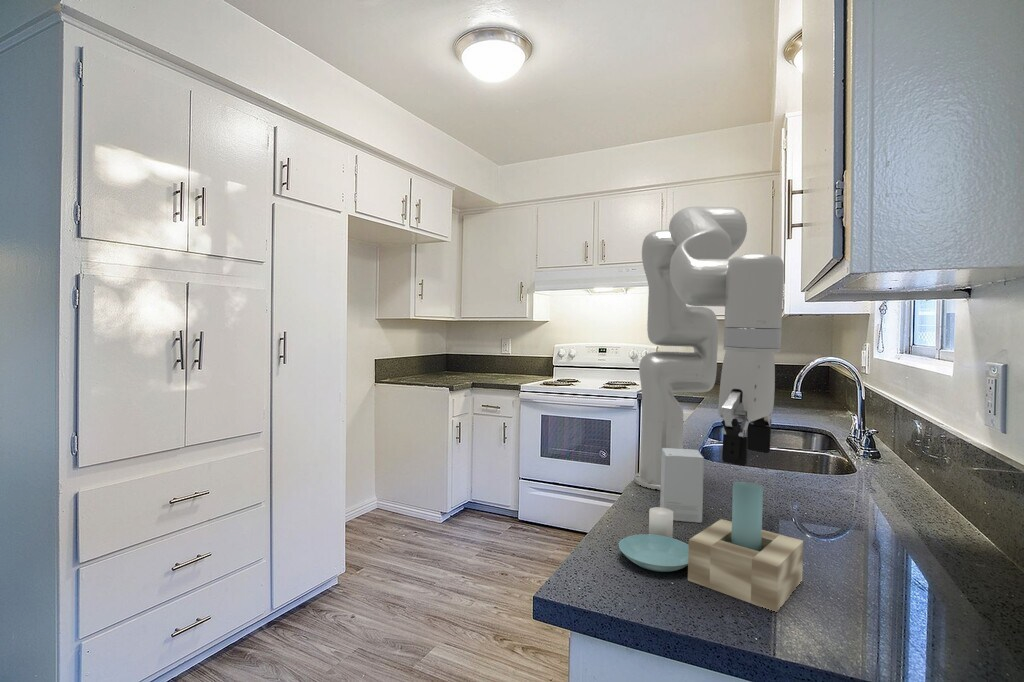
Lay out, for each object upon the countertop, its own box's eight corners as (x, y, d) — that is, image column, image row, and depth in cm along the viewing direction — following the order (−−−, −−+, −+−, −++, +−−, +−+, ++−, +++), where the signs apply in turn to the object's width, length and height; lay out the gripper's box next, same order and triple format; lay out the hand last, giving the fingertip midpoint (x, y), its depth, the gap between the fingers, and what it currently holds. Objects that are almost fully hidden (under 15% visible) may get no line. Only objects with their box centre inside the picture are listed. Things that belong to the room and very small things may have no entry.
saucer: (694, 552, 85) (694, 539, 85) (698, 585, 74) (698, 569, 74) (622, 543, 88) (622, 530, 88) (614, 573, 77) (615, 558, 77)
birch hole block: (720, 555, 84) (721, 518, 84) (802, 581, 75) (803, 540, 75) (687, 580, 75) (688, 539, 75) (776, 612, 67) (777, 566, 67)
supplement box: (703, 523, 98) (704, 457, 97) (662, 520, 99) (664, 454, 99) (697, 510, 105) (698, 449, 105) (659, 507, 106) (661, 446, 106)
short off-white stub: (655, 533, 93) (656, 505, 93) (676, 539, 90) (677, 511, 90) (644, 539, 90) (645, 510, 90) (665, 546, 87) (666, 516, 87)
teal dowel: (736, 571, 78) (738, 480, 78) (764, 580, 75) (766, 485, 75) (726, 580, 75) (728, 485, 75) (754, 590, 72) (757, 491, 72)
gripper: (746, 338, 83) (741, 442, 84) (701, 341, 71) (696, 463, 72) (797, 340, 78) (792, 451, 79) (758, 343, 66) (753, 475, 67)
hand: (746, 457), depth 75 cm, fingers open, 9 cm apart
